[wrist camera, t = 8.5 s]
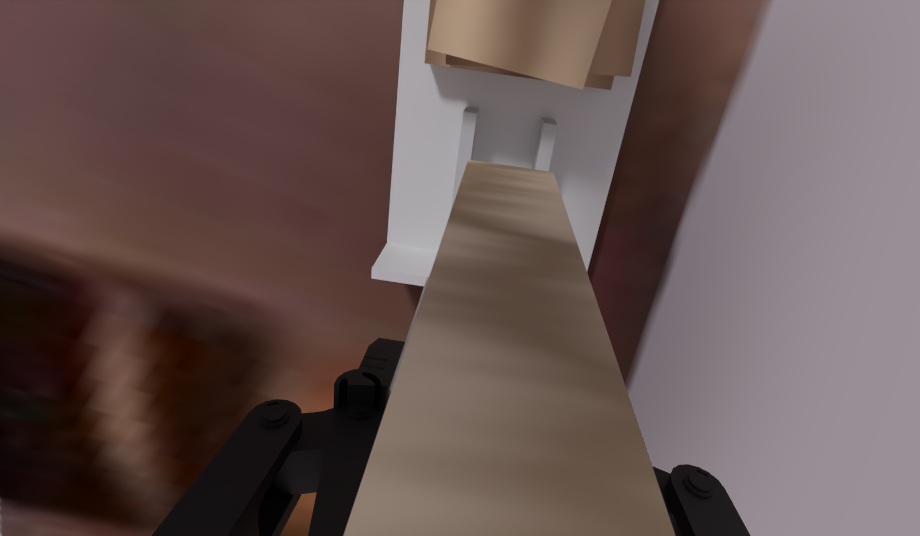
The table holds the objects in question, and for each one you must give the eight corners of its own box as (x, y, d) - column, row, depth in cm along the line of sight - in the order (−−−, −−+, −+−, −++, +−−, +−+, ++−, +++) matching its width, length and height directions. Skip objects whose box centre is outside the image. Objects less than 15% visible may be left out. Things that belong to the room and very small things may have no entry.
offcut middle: (449, 63, 31) (445, 64, 30) (455, -76, 28) (451, -84, 27) (623, 74, 31) (630, 77, 29) (649, -67, 28) (659, -74, 26)
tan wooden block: (440, 359, 24) (325, 905, 9) (468, 159, 20) (338, 553, 5) (510, 370, 24) (515, 940, 9) (553, 172, 20) (702, 615, 5)
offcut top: (432, 48, 29) (427, 49, 28) (456, -78, 27) (452, -87, 25) (578, 86, 30) (582, 89, 28) (617, -35, 27) (624, -41, 25)
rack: (389, 246, 41) (371, 278, 35) (438, -422, 25) (418, -550, 20) (582, 276, 40) (593, 312, 35) (755, -385, 25) (825, -505, 19)
